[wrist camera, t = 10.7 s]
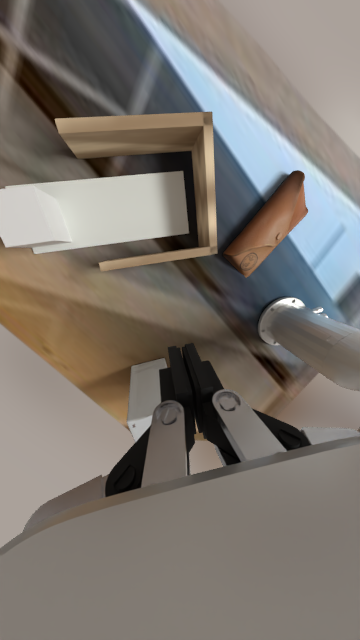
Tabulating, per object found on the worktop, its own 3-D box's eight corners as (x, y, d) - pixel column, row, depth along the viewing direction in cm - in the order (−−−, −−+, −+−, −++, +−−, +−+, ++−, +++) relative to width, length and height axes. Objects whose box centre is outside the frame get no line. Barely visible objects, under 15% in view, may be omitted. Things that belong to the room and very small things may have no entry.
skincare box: (137, 383, 42) (133, 448, 28) (130, 363, 39) (123, 424, 26) (170, 375, 43) (182, 433, 29) (166, 355, 40) (177, 409, 27)
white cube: (33, 247, 28) (5, 247, 22) (13, 203, 25) (-24, 191, 20) (72, 242, 28) (54, 240, 23) (56, 198, 26) (32, 185, 20)
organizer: (74, 148, 24) (54, 118, 19) (198, 140, 26) (212, 111, 21) (108, 267, 31) (101, 271, 25) (205, 252, 33) (217, 253, 28)
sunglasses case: (246, 281, 37) (252, 275, 30) (221, 261, 38) (221, 251, 31) (311, 209, 34) (333, 184, 27) (281, 189, 35) (296, 161, 28)
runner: (182, 171, 28) (183, 170, 27) (188, 233, 31) (189, 233, 31) (5, 186, 24) (4, 186, 24) (35, 253, 28) (34, 253, 28)
